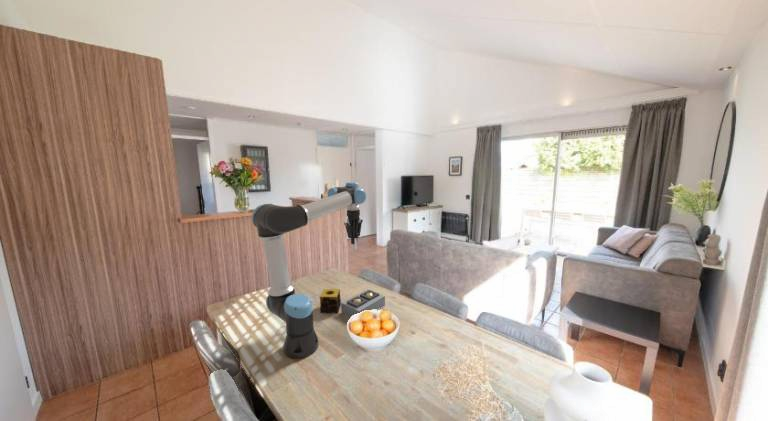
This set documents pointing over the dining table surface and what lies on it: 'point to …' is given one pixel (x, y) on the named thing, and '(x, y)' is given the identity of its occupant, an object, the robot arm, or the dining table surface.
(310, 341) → the robot arm
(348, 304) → the socket block
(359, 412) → the dining table surface
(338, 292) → the candle
